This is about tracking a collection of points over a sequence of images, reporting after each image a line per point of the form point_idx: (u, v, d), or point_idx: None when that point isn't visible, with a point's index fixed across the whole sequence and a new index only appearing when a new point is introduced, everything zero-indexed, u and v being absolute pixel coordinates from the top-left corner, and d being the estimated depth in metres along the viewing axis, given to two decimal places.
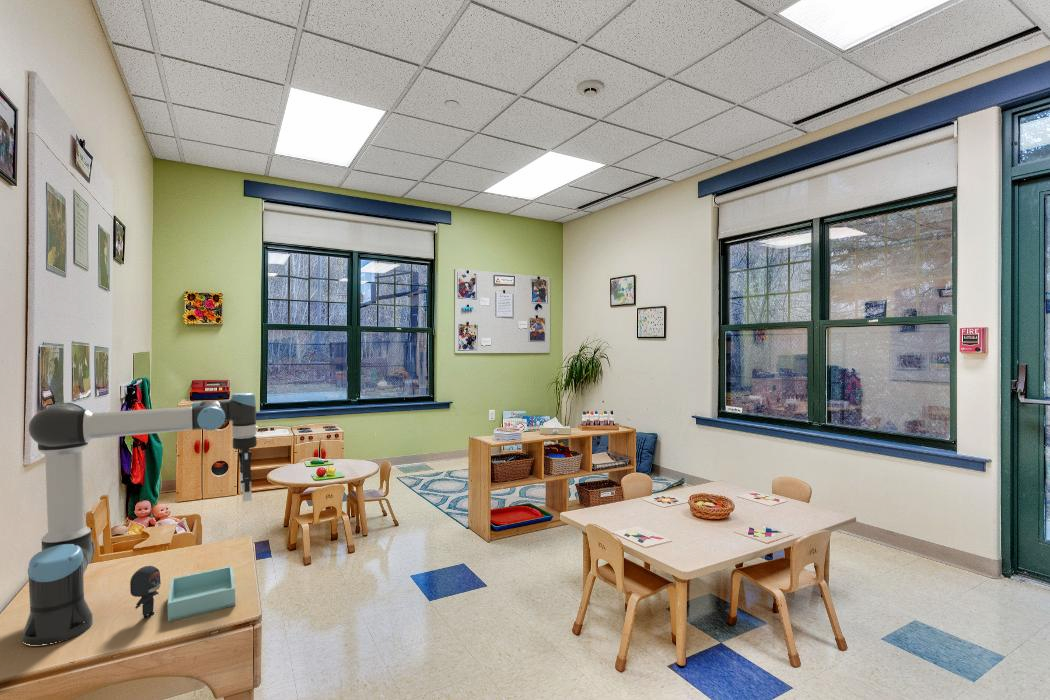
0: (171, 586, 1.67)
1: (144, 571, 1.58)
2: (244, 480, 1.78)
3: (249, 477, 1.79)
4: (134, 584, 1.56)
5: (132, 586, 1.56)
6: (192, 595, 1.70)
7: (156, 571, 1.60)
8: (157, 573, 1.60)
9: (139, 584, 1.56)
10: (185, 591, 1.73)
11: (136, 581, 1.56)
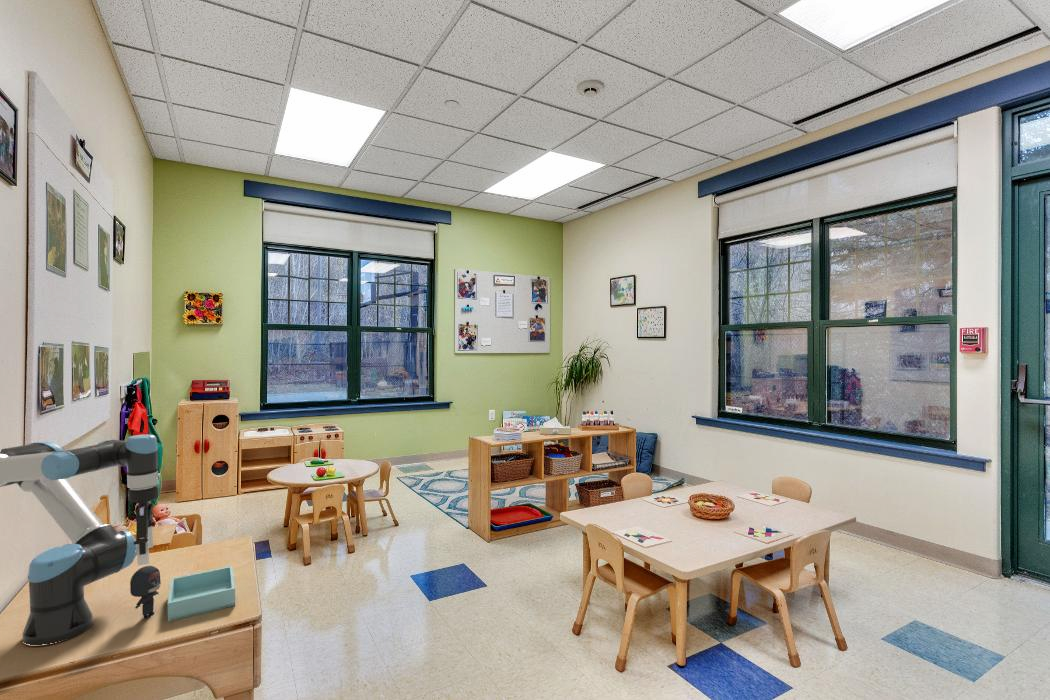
0: (171, 586, 1.67)
1: (144, 571, 1.58)
2: (137, 541, 1.50)
3: (144, 537, 1.51)
4: (134, 584, 1.56)
5: (132, 586, 1.56)
6: (192, 595, 1.70)
7: (156, 571, 1.60)
8: (157, 573, 1.60)
9: (139, 584, 1.56)
10: (185, 591, 1.73)
11: (136, 581, 1.56)
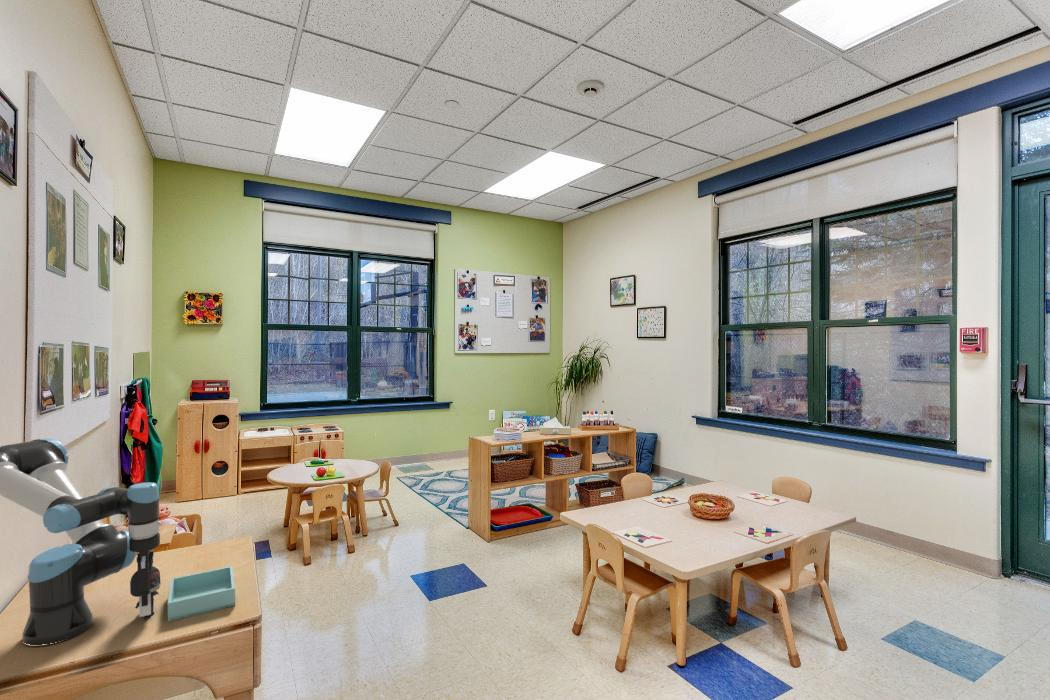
0: (171, 586, 1.67)
1: None
2: (140, 594, 1.53)
3: (146, 590, 1.54)
4: (134, 584, 1.56)
5: (132, 586, 1.56)
6: (192, 595, 1.70)
7: (156, 571, 1.60)
8: (157, 573, 1.60)
9: None
10: (185, 591, 1.73)
11: (136, 581, 1.56)
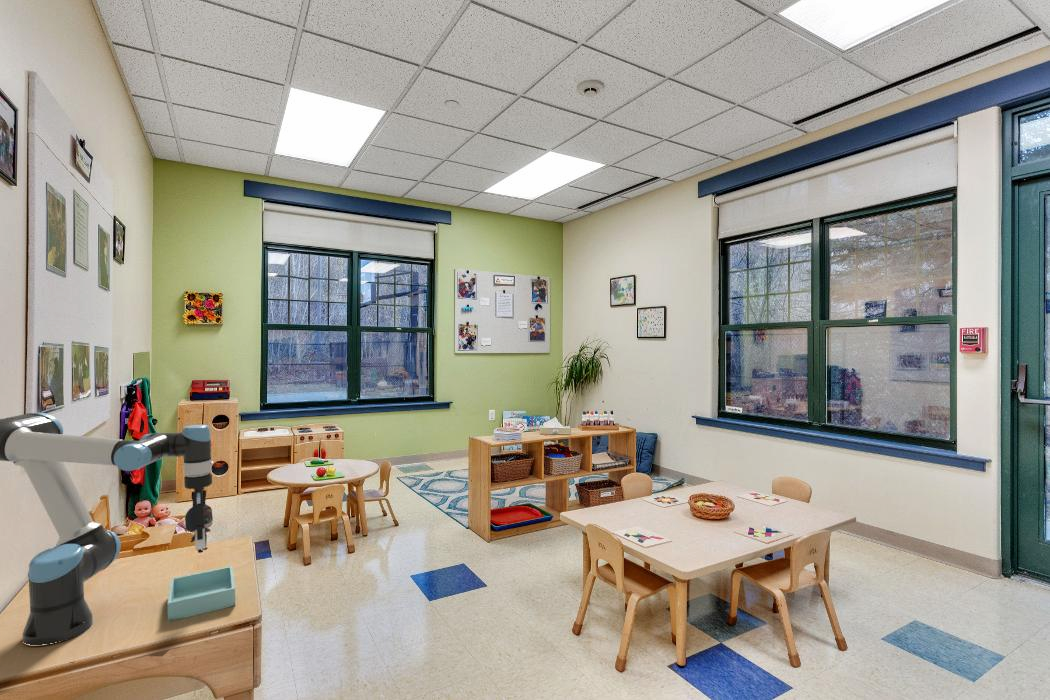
0: (171, 586, 1.67)
1: None
2: (196, 528, 1.61)
3: (201, 524, 1.62)
4: (189, 519, 1.64)
5: (187, 521, 1.65)
6: (192, 595, 1.70)
7: (209, 508, 1.68)
8: (210, 510, 1.68)
9: (194, 520, 1.64)
10: (185, 591, 1.73)
11: (191, 516, 1.64)
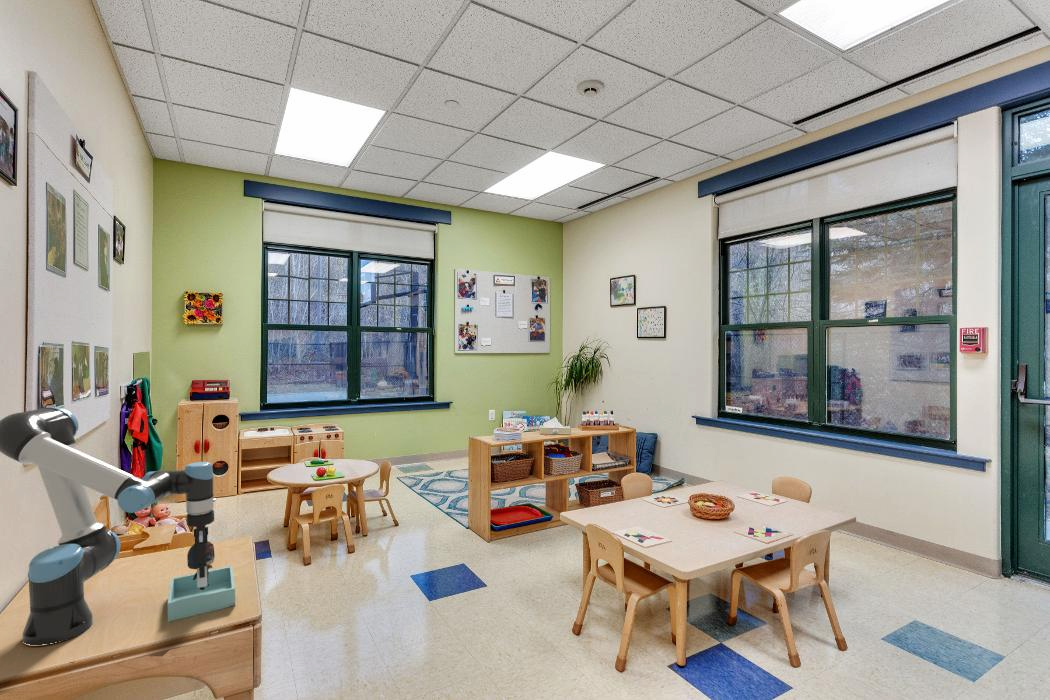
0: (171, 586, 1.67)
1: None
2: (198, 566, 1.62)
3: (204, 563, 1.63)
4: (191, 557, 1.65)
5: (189, 559, 1.65)
6: (192, 595, 1.70)
7: (211, 545, 1.69)
8: (212, 547, 1.69)
9: (196, 557, 1.65)
10: (185, 591, 1.73)
11: (193, 554, 1.65)
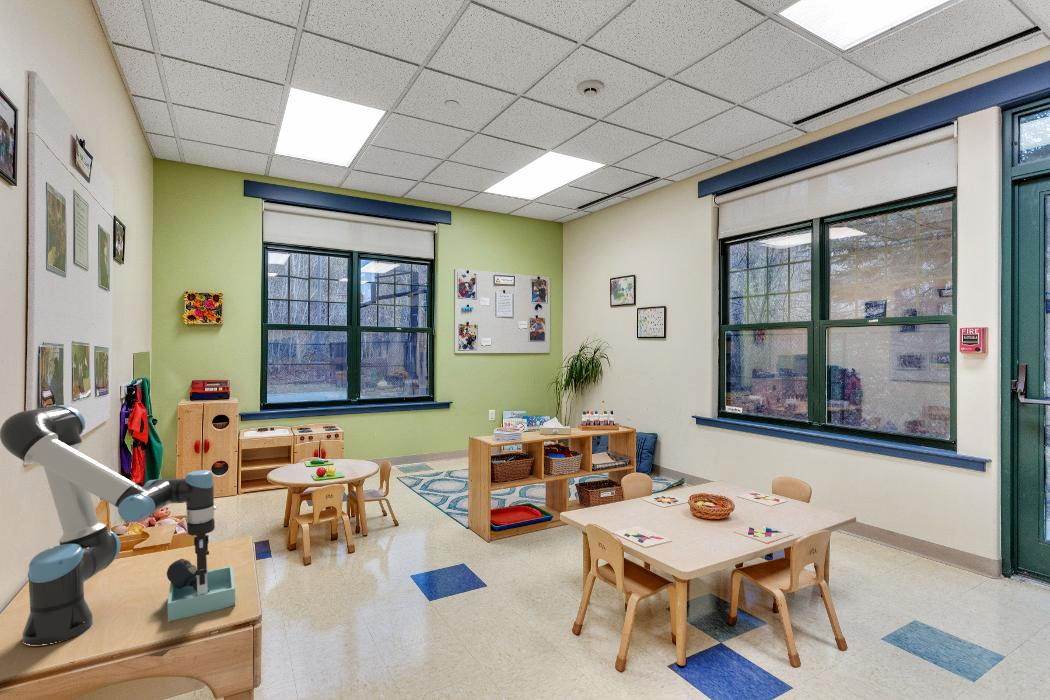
0: (171, 586, 1.67)
1: None
2: (198, 573, 1.60)
3: (204, 569, 1.61)
4: (172, 573, 1.67)
5: (172, 577, 1.67)
6: (192, 595, 1.70)
7: None
8: (186, 560, 1.73)
9: (177, 570, 1.68)
10: (185, 591, 1.73)
11: (172, 570, 1.68)
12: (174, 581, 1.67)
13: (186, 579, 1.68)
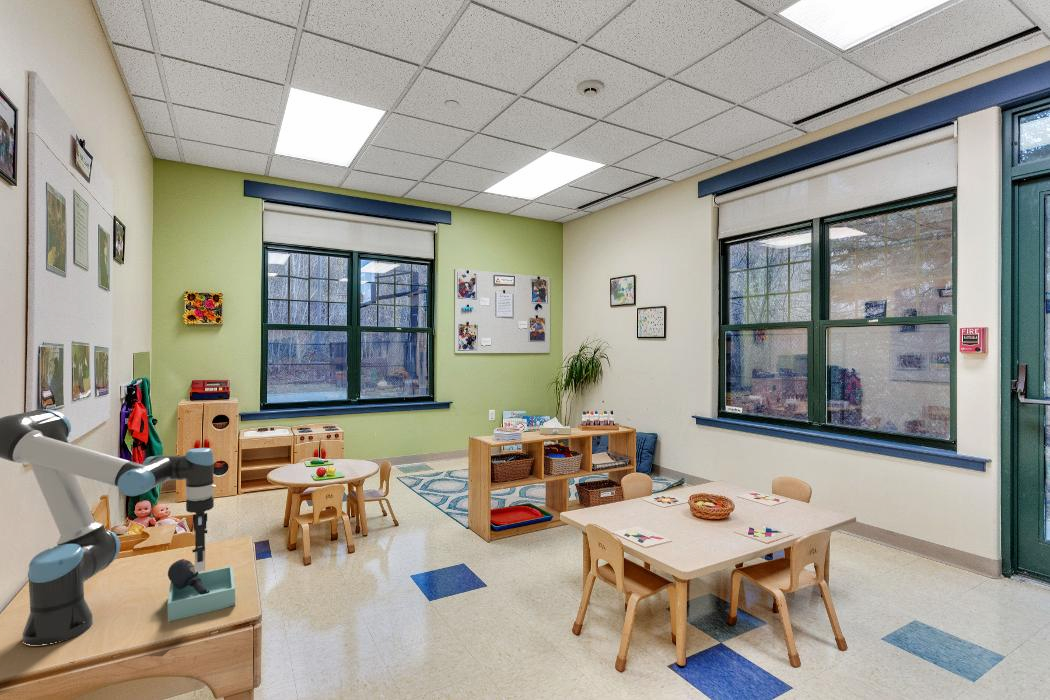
0: (171, 586, 1.67)
1: (175, 562, 1.71)
2: (196, 549, 1.59)
3: (202, 546, 1.60)
4: (173, 573, 1.68)
5: (173, 576, 1.68)
6: (192, 595, 1.70)
7: None
8: (187, 560, 1.73)
9: (178, 569, 1.68)
10: (185, 591, 1.73)
11: (173, 569, 1.68)
12: (175, 580, 1.67)
13: (187, 579, 1.69)
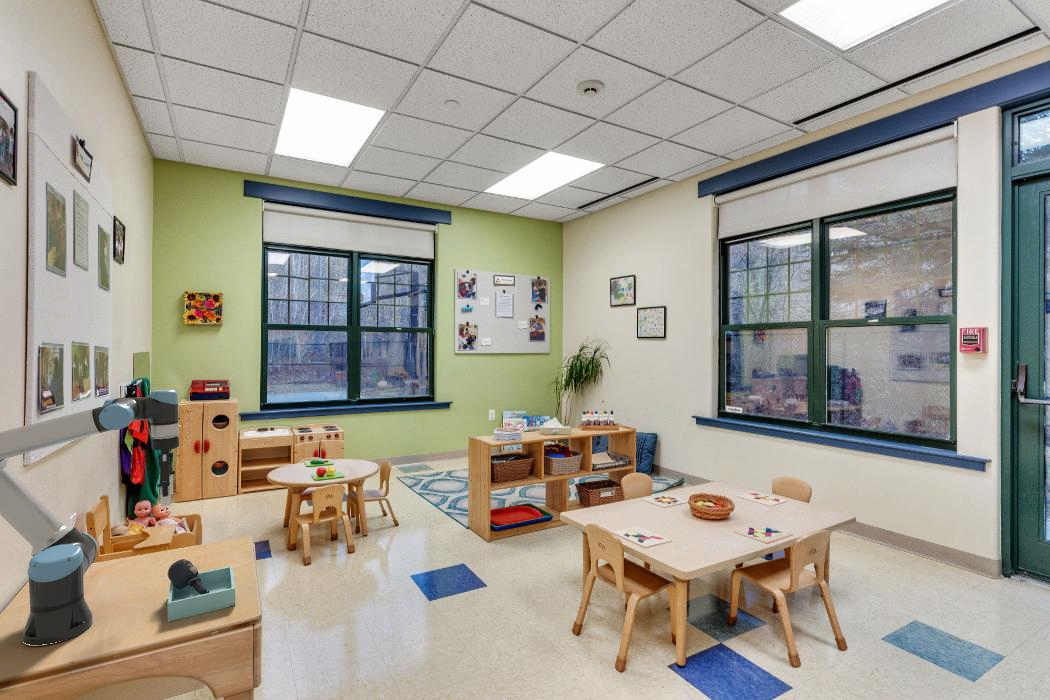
0: (171, 586, 1.67)
1: (175, 562, 1.71)
2: (161, 484, 1.65)
3: (167, 480, 1.66)
4: (173, 573, 1.68)
5: (173, 576, 1.68)
6: (192, 595, 1.70)
7: None
8: (187, 560, 1.73)
9: (178, 569, 1.68)
10: (185, 591, 1.73)
11: (173, 569, 1.68)
12: (175, 580, 1.67)
13: (187, 579, 1.69)
